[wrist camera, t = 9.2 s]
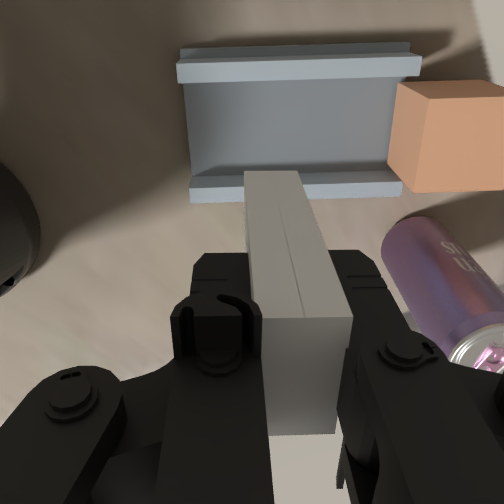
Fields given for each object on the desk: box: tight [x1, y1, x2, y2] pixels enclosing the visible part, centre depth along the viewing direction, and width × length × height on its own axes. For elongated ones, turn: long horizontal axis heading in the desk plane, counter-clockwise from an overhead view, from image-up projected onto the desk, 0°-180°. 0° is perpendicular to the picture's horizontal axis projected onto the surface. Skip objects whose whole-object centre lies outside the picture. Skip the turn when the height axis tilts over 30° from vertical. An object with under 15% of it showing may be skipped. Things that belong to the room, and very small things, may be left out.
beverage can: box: [381, 216, 504, 374], centre depth 33 cm, size 6×6×15 cm
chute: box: [176, 41, 422, 203], centre depth 33 cm, size 16×11×4 cm
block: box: [387, 80, 504, 193], centre depth 30 cm, size 6×6×6 cm
